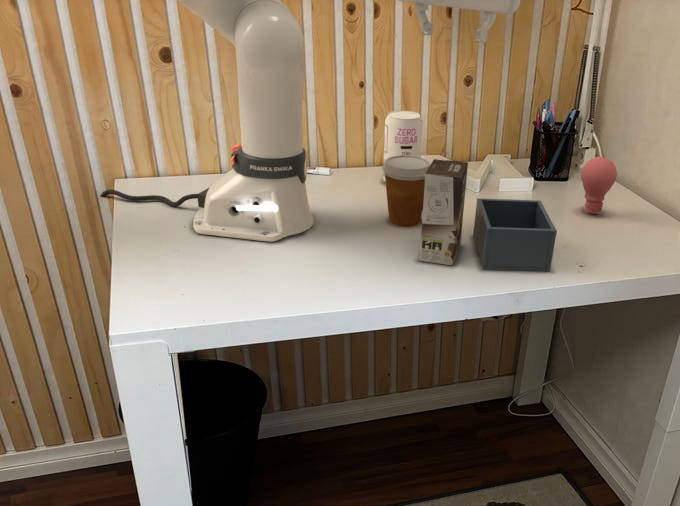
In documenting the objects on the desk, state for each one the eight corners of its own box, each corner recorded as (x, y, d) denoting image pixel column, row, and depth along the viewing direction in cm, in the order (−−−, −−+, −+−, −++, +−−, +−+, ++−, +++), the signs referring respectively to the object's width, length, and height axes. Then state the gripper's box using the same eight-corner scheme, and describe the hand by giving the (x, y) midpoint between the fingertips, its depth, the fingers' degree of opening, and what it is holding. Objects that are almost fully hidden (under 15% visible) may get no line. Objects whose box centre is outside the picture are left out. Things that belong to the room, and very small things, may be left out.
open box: (482, 269, 129) (487, 228, 125) (472, 236, 141) (477, 198, 137) (549, 271, 130) (556, 230, 126) (534, 238, 142) (540, 200, 138)
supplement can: (403, 174, 170) (406, 108, 162) (426, 184, 165) (431, 116, 157) (375, 180, 166) (377, 112, 158) (398, 191, 161) (401, 121, 153)
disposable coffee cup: (371, 219, 146) (372, 160, 139) (405, 209, 152) (407, 151, 145) (404, 234, 140) (407, 173, 134) (438, 223, 146) (442, 163, 140)
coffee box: (453, 266, 130) (461, 177, 121) (418, 261, 131) (423, 173, 122) (461, 246, 137) (469, 161, 129) (427, 241, 138) (433, 157, 130)
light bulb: (573, 217, 153) (583, 160, 147) (575, 205, 159) (585, 150, 153) (608, 221, 152) (619, 164, 146) (608, 209, 158) (620, 154, 152)
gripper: (390, -65, 112) (386, 32, 120) (517, -54, 106) (505, 49, 113) (407, -66, 117) (403, 28, 125) (530, -55, 110) (518, 43, 118)
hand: (453, 38), depth 119 cm, fingers open, 8 cm apart
